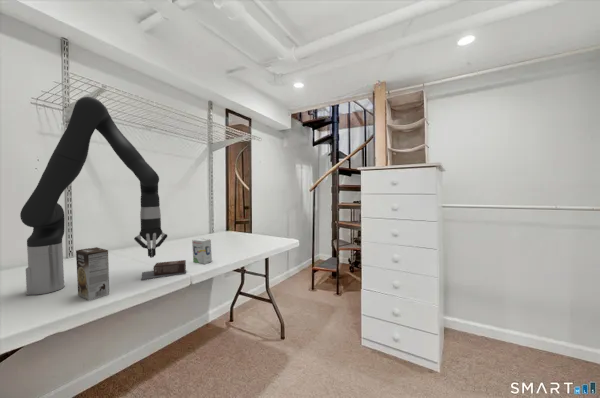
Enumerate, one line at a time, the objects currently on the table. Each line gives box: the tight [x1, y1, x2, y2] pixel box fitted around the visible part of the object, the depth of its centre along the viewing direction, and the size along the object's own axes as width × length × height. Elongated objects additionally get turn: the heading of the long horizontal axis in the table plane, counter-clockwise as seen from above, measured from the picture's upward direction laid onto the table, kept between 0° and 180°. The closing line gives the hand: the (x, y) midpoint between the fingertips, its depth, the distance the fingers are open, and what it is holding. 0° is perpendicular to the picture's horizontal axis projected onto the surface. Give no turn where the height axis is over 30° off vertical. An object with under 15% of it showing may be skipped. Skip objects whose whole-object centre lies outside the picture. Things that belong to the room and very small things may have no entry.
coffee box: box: [75, 247, 110, 301], centre depth 89 cm, size 9×6×16 cm
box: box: [152, 259, 187, 276], centre depth 112 cm, size 6×4×12 cm
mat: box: [140, 269, 187, 281], centre depth 112 cm, size 17×10×1 cm, turn 120°
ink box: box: [191, 237, 213, 265], centre depth 129 cm, size 9×5×12 cm, turn 62°
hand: (152, 257), depth 109 cm, fingers closed
